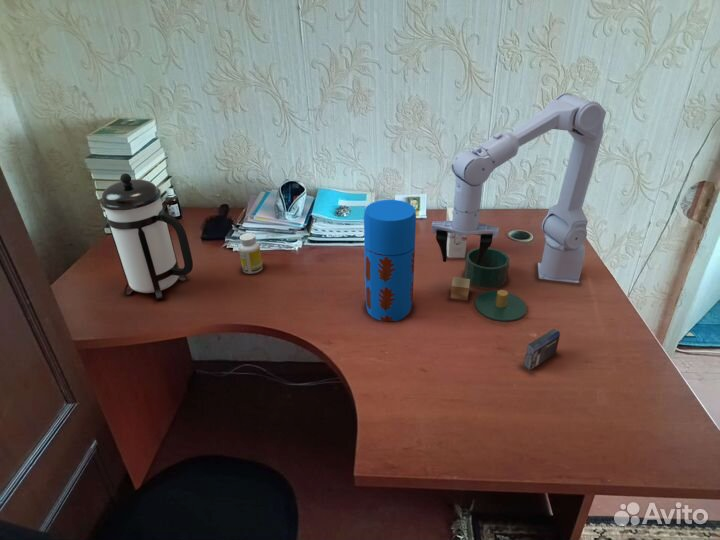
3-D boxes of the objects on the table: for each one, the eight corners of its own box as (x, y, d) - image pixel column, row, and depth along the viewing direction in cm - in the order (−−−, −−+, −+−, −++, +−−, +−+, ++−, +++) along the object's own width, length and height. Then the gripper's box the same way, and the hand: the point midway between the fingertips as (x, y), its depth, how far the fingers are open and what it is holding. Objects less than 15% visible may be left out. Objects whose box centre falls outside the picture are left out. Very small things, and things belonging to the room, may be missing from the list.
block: (468, 292, 120) (470, 278, 118) (467, 302, 117) (468, 287, 115) (452, 290, 121) (453, 276, 119) (450, 299, 118) (451, 285, 115)
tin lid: (525, 298, 117) (528, 282, 115) (526, 327, 108) (529, 310, 106) (476, 292, 120) (478, 276, 118) (473, 320, 111) (475, 303, 108)
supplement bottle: (265, 264, 134) (260, 231, 129) (259, 274, 129) (254, 241, 124) (245, 263, 134) (240, 231, 129) (239, 274, 130) (233, 241, 125)
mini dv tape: (529, 372, 96) (534, 348, 93) (523, 368, 97) (527, 344, 94) (555, 355, 100) (560, 331, 97) (548, 351, 101) (554, 328, 98)
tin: (506, 270, 128) (509, 250, 125) (505, 292, 120) (509, 271, 117) (465, 265, 131) (467, 245, 128) (462, 286, 122) (464, 266, 119)
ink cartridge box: (443, 244, 141) (447, 196, 133) (461, 244, 141) (465, 196, 133) (447, 259, 134) (450, 209, 126) (465, 259, 133) (470, 209, 126)
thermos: (409, 324, 110) (413, 223, 97) (361, 319, 112) (359, 219, 99) (414, 297, 119) (418, 200, 106) (370, 292, 121) (369, 197, 108)
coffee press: (125, 311, 116) (85, 192, 101) (125, 278, 129) (89, 168, 113) (200, 294, 122) (173, 179, 106) (193, 264, 134) (168, 157, 119)
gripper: (500, 202, 110) (493, 255, 117) (435, 198, 113) (431, 250, 120) (501, 216, 104) (493, 271, 111) (432, 211, 107) (428, 265, 114)
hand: (461, 261), depth 115 cm, fingers open, 7 cm apart
